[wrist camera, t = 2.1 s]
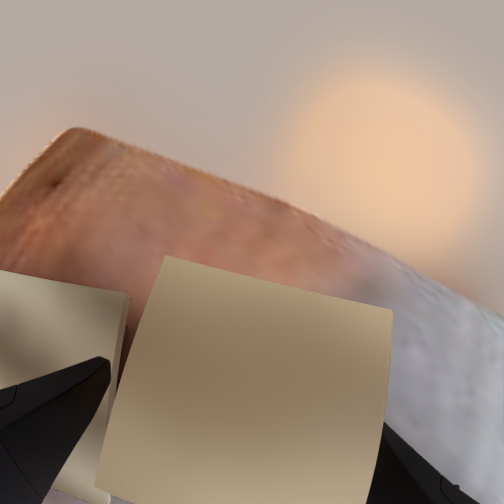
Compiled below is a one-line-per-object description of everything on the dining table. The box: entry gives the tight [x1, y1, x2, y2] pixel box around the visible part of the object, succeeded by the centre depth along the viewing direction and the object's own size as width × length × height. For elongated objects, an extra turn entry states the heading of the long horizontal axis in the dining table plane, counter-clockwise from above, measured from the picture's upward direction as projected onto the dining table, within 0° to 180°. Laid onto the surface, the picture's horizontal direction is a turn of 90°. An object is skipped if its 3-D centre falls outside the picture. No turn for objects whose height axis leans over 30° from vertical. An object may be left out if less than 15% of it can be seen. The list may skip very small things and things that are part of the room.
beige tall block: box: [94, 255, 393, 504], centre depth 10 cm, size 5×5×12 cm
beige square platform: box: [0, 270, 131, 504], centre depth 12 cm, size 12×12×4 cm
